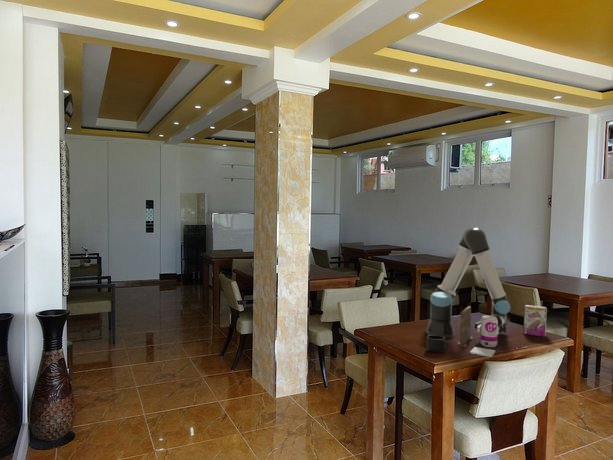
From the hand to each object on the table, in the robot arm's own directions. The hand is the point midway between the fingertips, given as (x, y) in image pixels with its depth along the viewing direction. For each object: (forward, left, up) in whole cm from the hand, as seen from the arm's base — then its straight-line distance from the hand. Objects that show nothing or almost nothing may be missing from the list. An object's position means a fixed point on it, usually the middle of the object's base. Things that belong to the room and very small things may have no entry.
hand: (487, 331), depth 231 cm
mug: (-19, -21, -9) cm, 30 cm away
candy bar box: (+18, +41, -9) cm, 45 cm away
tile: (0, -10, -9) cm, 13 cm away
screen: (-11, +3, -9) cm, 15 cm away
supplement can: (0, +5, -9) cm, 10 cm away
